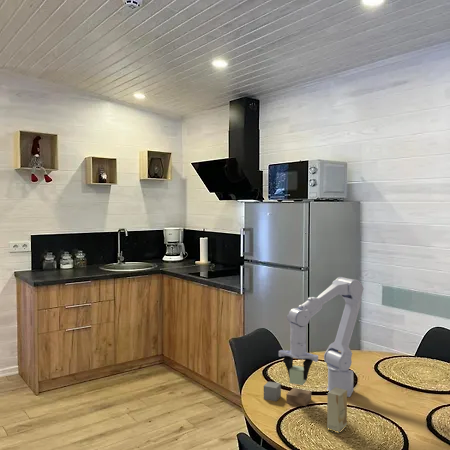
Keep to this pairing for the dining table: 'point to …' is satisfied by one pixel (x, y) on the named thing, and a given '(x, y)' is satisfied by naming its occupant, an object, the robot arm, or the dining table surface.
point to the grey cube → (272, 391)
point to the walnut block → (298, 397)
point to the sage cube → (297, 375)
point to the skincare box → (337, 409)
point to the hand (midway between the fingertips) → (298, 377)
